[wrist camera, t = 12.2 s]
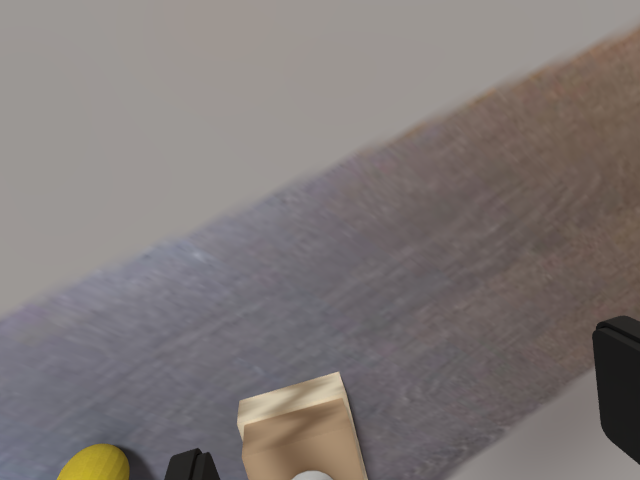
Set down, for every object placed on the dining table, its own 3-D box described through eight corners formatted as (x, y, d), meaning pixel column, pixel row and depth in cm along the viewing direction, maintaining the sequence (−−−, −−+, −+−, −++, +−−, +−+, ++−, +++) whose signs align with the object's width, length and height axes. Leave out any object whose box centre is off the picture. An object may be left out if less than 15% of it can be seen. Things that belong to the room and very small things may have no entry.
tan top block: (342, 397, 37) (351, 426, 33) (361, 478, 39) (372, 514, 35) (244, 424, 36) (241, 457, 32) (268, 506, 38) (269, 546, 34)
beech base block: (337, 369, 41) (345, 392, 37) (358, 452, 43) (368, 481, 39) (239, 397, 40) (237, 424, 36) (266, 480, 42) (266, 513, 38)
